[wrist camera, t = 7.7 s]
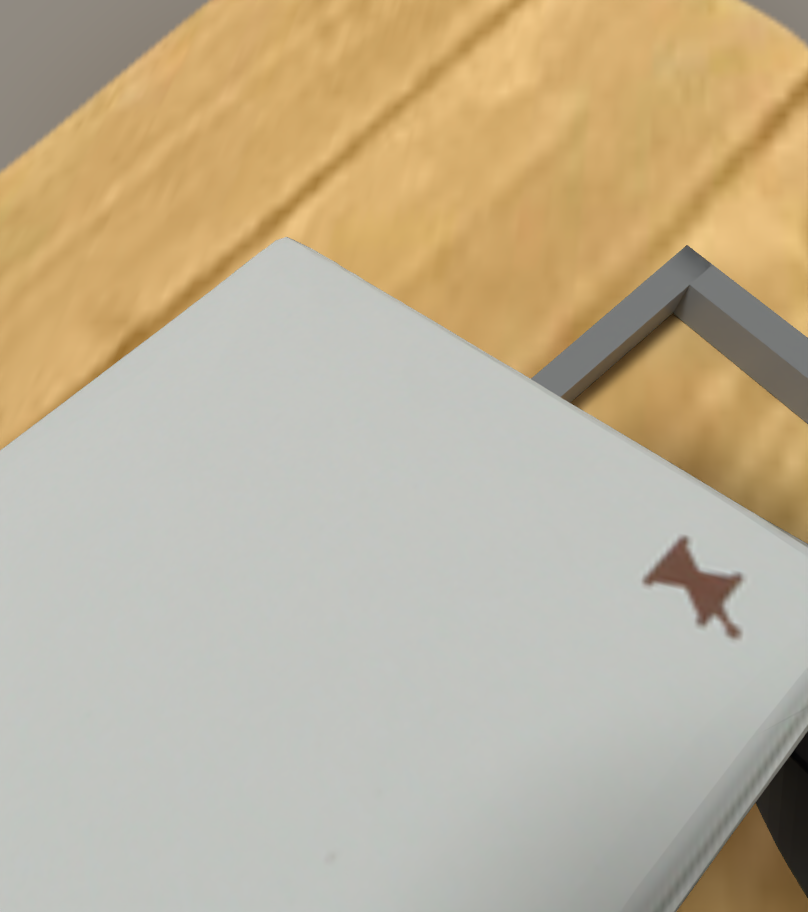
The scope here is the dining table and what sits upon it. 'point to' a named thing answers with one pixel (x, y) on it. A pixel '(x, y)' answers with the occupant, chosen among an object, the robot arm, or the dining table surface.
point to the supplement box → (372, 629)
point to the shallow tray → (706, 312)
